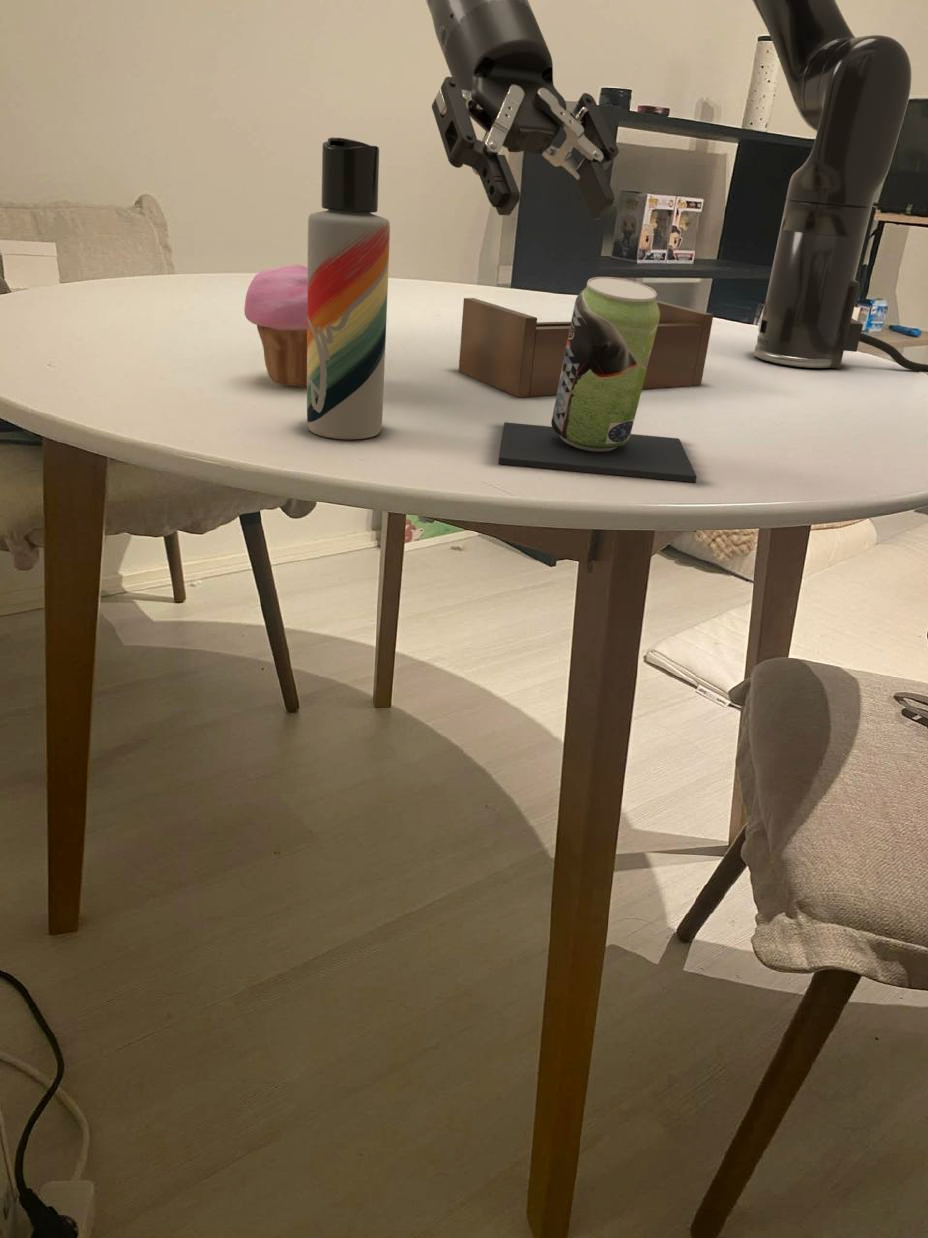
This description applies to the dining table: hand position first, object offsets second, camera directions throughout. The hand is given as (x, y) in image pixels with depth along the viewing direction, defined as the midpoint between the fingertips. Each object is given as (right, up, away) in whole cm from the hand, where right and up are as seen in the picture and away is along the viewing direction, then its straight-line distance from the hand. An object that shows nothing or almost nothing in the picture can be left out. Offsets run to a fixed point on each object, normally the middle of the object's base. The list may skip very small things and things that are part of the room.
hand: (558, 209), depth 73 cm
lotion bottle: (-16, -16, +2) cm, 23 cm away
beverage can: (+3, -18, +1) cm, 18 cm away
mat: (+3, -18, +1) cm, 18 cm away
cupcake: (-22, -9, +15) cm, 28 cm away
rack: (+5, -6, +25) cm, 27 cm away
